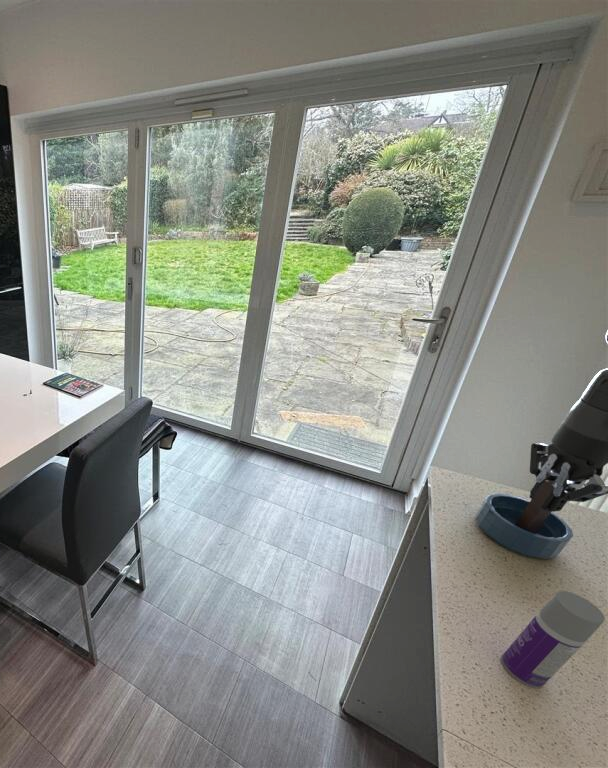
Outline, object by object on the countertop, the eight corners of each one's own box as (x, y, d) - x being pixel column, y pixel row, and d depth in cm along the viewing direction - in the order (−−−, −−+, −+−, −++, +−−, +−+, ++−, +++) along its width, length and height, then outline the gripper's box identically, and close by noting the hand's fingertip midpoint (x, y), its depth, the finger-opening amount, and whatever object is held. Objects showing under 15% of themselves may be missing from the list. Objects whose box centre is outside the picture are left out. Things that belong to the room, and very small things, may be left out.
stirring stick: (522, 530, 82) (557, 480, 76) (531, 539, 80) (568, 488, 74) (510, 529, 82) (544, 479, 76) (519, 538, 80) (554, 487, 74)
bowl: (521, 515, 88) (534, 496, 86) (575, 564, 77) (592, 544, 75) (459, 510, 89) (471, 490, 87) (505, 557, 78) (519, 537, 76)
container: (492, 651, 63) (544, 587, 56) (526, 656, 62) (583, 592, 55) (516, 685, 58) (575, 621, 51) (552, 691, 58) (617, 626, 51)
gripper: (665, 455, 63) (599, 535, 71) (580, 409, 75) (532, 482, 83) (612, 451, 64) (552, 530, 72) (536, 406, 76) (493, 478, 84)
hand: (542, 504), depth 78 cm, fingers closed on stirring stick, 2 cm apart
